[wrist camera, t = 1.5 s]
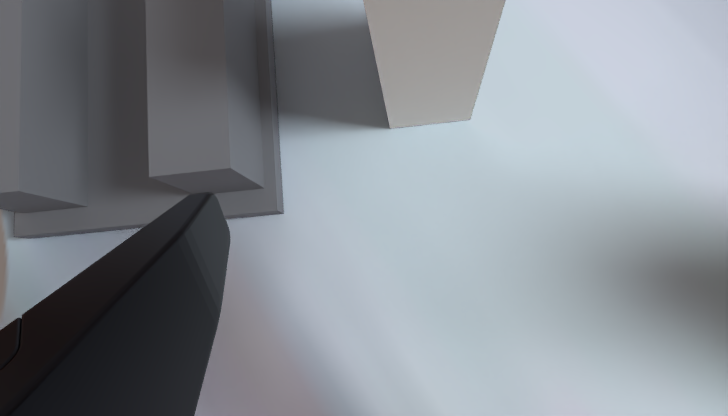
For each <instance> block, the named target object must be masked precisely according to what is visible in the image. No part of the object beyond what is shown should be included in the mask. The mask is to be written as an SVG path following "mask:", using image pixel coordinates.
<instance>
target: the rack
mask: <svg viewBox="0 0 728 416" xmlns="http://www.w3.org/2000/svg"><path fill="white" fill-rule="evenodd" d="M204 192H212V193H213V194H215V195H216V197H217V198H218V201H219V203H220V206H221V209H222V211H223V214H224V217H225V219H233V218H243V217H253V216H263V215H273V214H284V210H283V193H282V176H281V159H280V143H279V126H278V109H277V92H276V75H275V58H274V42H273V25H272V8H271V0H0V209H4V210H9V211H14V237H23V238H39V237H50V236H60V235H70V234H80V233H90V232H100V231H111V230H121V229H131V228H141V227H145V226H146V225H148V224H149V223H150V222H152V221H153V220H155V219H156V218H157V217H159V216H160V215H162V214H163V213H164V212H166V211H167V210H169V209H170V208H171V207H173V206H174V205H176V204H177V203H178V202H180V201H181V200H182V199H184V198H185V197H187V196H188V195H190V194H195V193H204Z"/></svg>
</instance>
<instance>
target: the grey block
mask: <svg viewBox="0 0 728 416" xmlns="http://www.w3.org/2000/svg"><path fill="white" fill-rule="evenodd" d="M363 1H364V6H365V11H366V16H367V21H368V25H369V30H370V35H371V40H372V44H373V49H374V54H375V59H376V64H377V68H378V73H379V78H380V83H381V87H382V92H383V97H384V102H385V107H386V111H387V116H388V121H389V126H390V129H391V128H400V127H409V126H418V125H427V124H436V123H445V122H454V121H463V120H470V119H471V116H472V112H473V109H474V105H475V102H476V99H477V95H478V92H479V89H480V85H481V82H482V78H483V75H484V72H485V68H486V65H487V61H488V58H489V55H490V51H491V48H492V45H493V41H494V38H495V34H496V31H497V28H498V24H499V21H500V17H501V14H502V11H503V7H504V4H505V1H506V0H363Z"/></svg>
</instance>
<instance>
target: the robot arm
mask: <svg viewBox="0 0 728 416" xmlns="http://www.w3.org/2000/svg"><path fill="white" fill-rule="evenodd" d="M229 247H230V231H229V227H228V225H227V222H226V219H225V217H224V214H223V211H222V209H221V206H220V203H219V201H218V198H217V197H216V195H215V194H213V193H212V192H204V193H195V194H190V195H188V196H187V197H185V198H184V199H182V200H181V201H180V202H178V203H177V204H176V205H174V206H173V207H171V208H170V209H169V210H167V211H166V212H164V213H163V214H162V215H160V216H159V217H157V218H156V219H155V220H153V221H152V222H150V223H149V224H148V225H146V226H145V227H144V228H142V229H141V230H139V231H138V232H137V233H135V234H134V235H132V236H131V237H130V238H128V239H127V240H125V241H124V242H123V243H121V244H120V245H119V246H117V247H116V248H114V249H113V250H112V251H110V252H109V253H107V254H106V255H105V256H103V257H102V258H100V259H99V260H98V261H96V262H95V263H93V264H92V265H91V266H89V267H88V268H87V269H85V270H84V271H82V272H81V273H80V274H78V275H77V276H75V277H74V278H73V279H71V280H70V281H68V282H67V283H66V284H64V285H63V286H62V287H60V288H59V289H57V290H56V291H55V292H53V293H52V294H50V295H49V296H48V297H46V298H45V299H43V300H42V301H41V302H39V303H38V304H36V305H35V306H34V307H32V308H31V309H30V310H28V311H27V312H25V313H24V314H23V315H22V319H21V318H17V319H15V320H14V321H13V322H11V323H10V324H8V325H7V326H6V327H4V328H3V329H2V330H0V416H194V414H195V410H196V407H197V403H198V399H199V395H200V391H201V387H202V384H203V380H204V376H205V372H206V368H207V364H208V361H209V357H210V353H211V349H212V345H213V341H214V338H215V334H216V330H217V326H218V322H219V317H220V312H221V306H222V300H223V292H224V285H225V277H226V270H227V262H228V255H229Z"/></svg>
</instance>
